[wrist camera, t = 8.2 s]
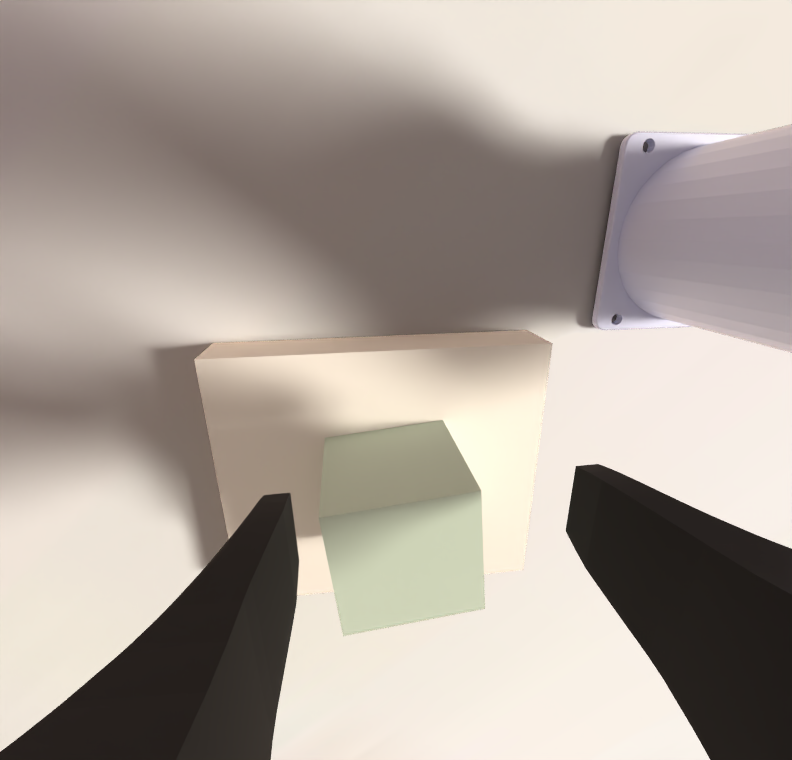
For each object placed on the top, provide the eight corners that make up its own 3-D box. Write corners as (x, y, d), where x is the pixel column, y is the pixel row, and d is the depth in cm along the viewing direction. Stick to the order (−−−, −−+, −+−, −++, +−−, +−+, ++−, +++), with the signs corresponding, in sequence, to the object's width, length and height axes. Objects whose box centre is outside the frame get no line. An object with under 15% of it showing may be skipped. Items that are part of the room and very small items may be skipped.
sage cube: (442, 420, 17) (481, 490, 12) (449, 515, 19) (484, 608, 14) (324, 437, 17) (318, 517, 12) (342, 533, 18) (343, 636, 14)
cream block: (521, 327, 19) (552, 343, 16) (501, 529, 23) (523, 569, 21) (217, 339, 18) (194, 359, 15) (253, 554, 22) (240, 602, 19)
